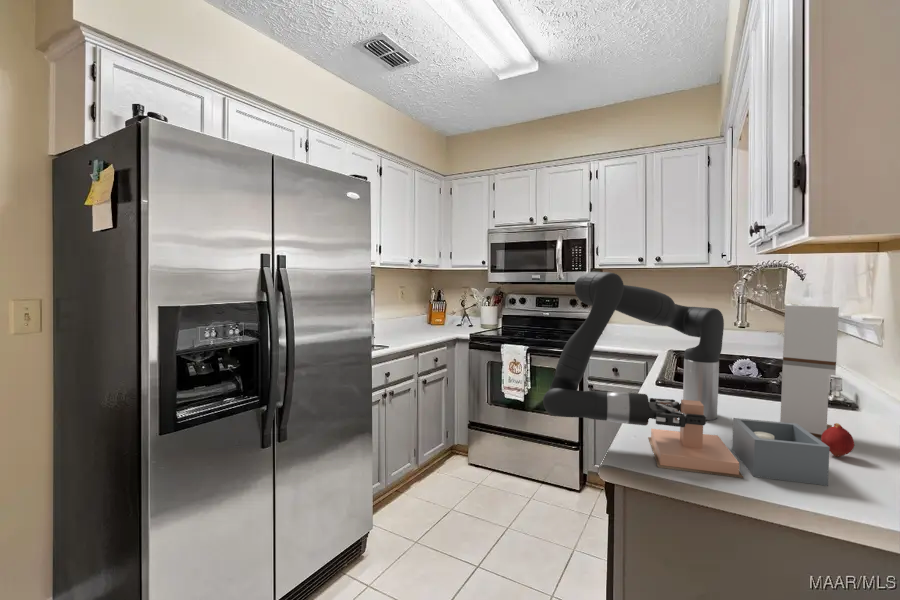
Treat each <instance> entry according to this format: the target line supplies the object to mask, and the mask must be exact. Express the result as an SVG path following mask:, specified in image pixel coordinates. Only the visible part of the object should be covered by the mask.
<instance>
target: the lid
mask: <svg viewBox="0 0 900 600" xmlns="http://www.w3.org/2000/svg"><path fill="white" fill-rule="evenodd" d="M680 403H681V412H683V413H686V414H687V413H688V414H699V415H704V405H703V404H702V403H701V402H700V401H693V400H683V399H681V400H680ZM650 430H651V432H650V437H651V439H652V442H653V445H654V448H655V451H656V454H657V457H658V460H659V462H660V465H665V466H673V467H681V468H689V469H697V470H704V471H712V472H720V473H728V474H736V475H739V471H740V462H739V460H737V458H736V457H735V456H734V454H733V453H732V452H731V450H730V449H729V448H728V446H727V445H726V444H725V443H724V441H723V440H722V439H721V438H720V436H719V435H718V434H717V435H715V434H707V433H704V425H694V424H687V425H685V427H679V431H677V430H669V429H668V430H667V429H656V428H651V429H650Z"/></svg>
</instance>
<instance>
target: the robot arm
mask: <svg viewBox="0 0 900 600" xmlns="http://www.w3.org/2000/svg"><path fill="white" fill-rule="evenodd" d="M574 291H575V292H574V293H575V296H576V297H577V299H579V301H580V302H581V303H583V304H585V305H588V306H590V307H591V309H590V311H589V314H588V316H587V317H586V319H585V320H584V322H582V324H581V325H580V326H579V328H577V330H576V331H575V332H574V333H573V334H572V335H571V336H570V337H569V339H568V340H567V342H566V343H565V345H564V347H563V349H562V351H561V354H560V356H559V359H558V361H557V363H556V367H555V371H554V372H555V374H554V377H553V379H552V382H551V384H550V387H549V389H548V390H547V391H546V392H545V393H544V396H543V399H542V404H543V407H544V409H545V410H546V412H547V413H548V414H550V415H551V416H555V417H558V418H559V417H560V418H562V417H563V418H585V419H589V420H597V421H605V422H606V421H607V422H613V423H616V424H617V423H618V424H626V425H634V426H635V425H637V426H643V427H644V426H647V425H648V424H649V420H650V419H652V420H655V424H656V425H658V426H659V425H660V426H670V427H679V428H680V427H685V425H687V424H694V425H703V426H705V425H706V424H707V422H706V421H712V420H716V419H717V418H718V404H719V403H718V402H719V401H718V400H719V378H720V377H719V375H720V374H719V373H720V368H719V367H720V356H721V353H722V349H723V340H724V339H723V338H724V328H725V320H724V315H723V313H722V311H721V310H720V309H718V308H714V307H702V306H701V307H699V306H687V305H680V304H677V303H675V301H674V300H673V299H672V298H671V297H670V296H669V295H667V294H665V293H662V292H659V291H657V290H654V289H650V288H646V287H640V286H636V285H626V284H624V281H623V279H622V278H621V276H620V275H619V274H617V273H614V272H610V271H589V272H585V273H583V274H581V275H579V277H578V278H577V279H576V280H575V283H574ZM615 311H616V312H619V313H621V314H624V315H626V316H628V317H630V318H634V319H636V320H639V321H642V322H644V323H648V324H652V325H655V326H662V327H669V328H671V329H673V330H675V331H677V332H679V333H682V334H683V335H686V336H689V337H694V338H699V343H698V344H697V345H696V346H693V347H689V348H686V349H685V350H684V355H683V356H684V357H683V384H682V385H683V387H682V389H683V391H682V393H683V394H682V400H693V401H700V402H701V403H702V404H703V405H704V415H699V414H688V413H687V414H686V413H683V412H681V402H680V401H676V400H675V399H673V398H672V399H669V398H657V397H656V398H653V397H650V398H649V396H648V394H647V393H637V392H636V393H635V392H626V391H600V390H599V391H598V390H586V391H585V390H578V389H579V385H580V382H581V381H582V378H583V377H584V374H585V371H586V369H587V366H588V364H589V362H590V359H591V356H592V353H593V351H594V349H595V347H596V345H597V343H598V341H599V339H600V338H601V335H602V334H603V333H604V331H605V329H606V328H607V325H608V324H609V322H610V320H611V318H612V316H614V313H615Z"/></svg>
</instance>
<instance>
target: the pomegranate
mask: <svg viewBox="0 0 900 600" xmlns="http://www.w3.org/2000/svg"><path fill="white" fill-rule="evenodd" d="M821 440H822V442H823V443H825V444H826V445H827V446H829V447H830V450H829V453H830V454H832V455H833V456H834V457H838V458H839V457H842V456H845V455H847V454H849V453H851V452H852V451H853V450H854V448H855V440H854V437H853V436H852V434H851V433H850V432H849V431H848V430H847V429H845V428H844V427H843V426H842V425H841V424H840V423H837V422H836V423H833V426H832V427H830V428H828V429H827V430H825V431H824V432H823V434H822V436H821Z"/></svg>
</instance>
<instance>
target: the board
mask: <svg viewBox="0 0 900 600" xmlns="http://www.w3.org/2000/svg"><path fill="white" fill-rule="evenodd" d="M647 439H648V442H649V446H650V449H651V451H652V453H654V454H653V457H654V459H655V462H656V466H657V468H659V469H660V468H662V469H666V470H667V469H668V470H676V471H682V472H691V473H692V472H693V473H697V474H698V473H700V474H707V475H708V474H709V475H715V476H721V477H731V478H739V479H744V475H743V473H741V471H740V470H739V475H736V474H728V473H720V472H712V471H704V470H697V469H689V468H681V467H673V466H665V465H660V462H659V460H658V457H657V454H656V451H655V448H654V445H653V442H652V439H651V436H648V437H647Z"/></svg>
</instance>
